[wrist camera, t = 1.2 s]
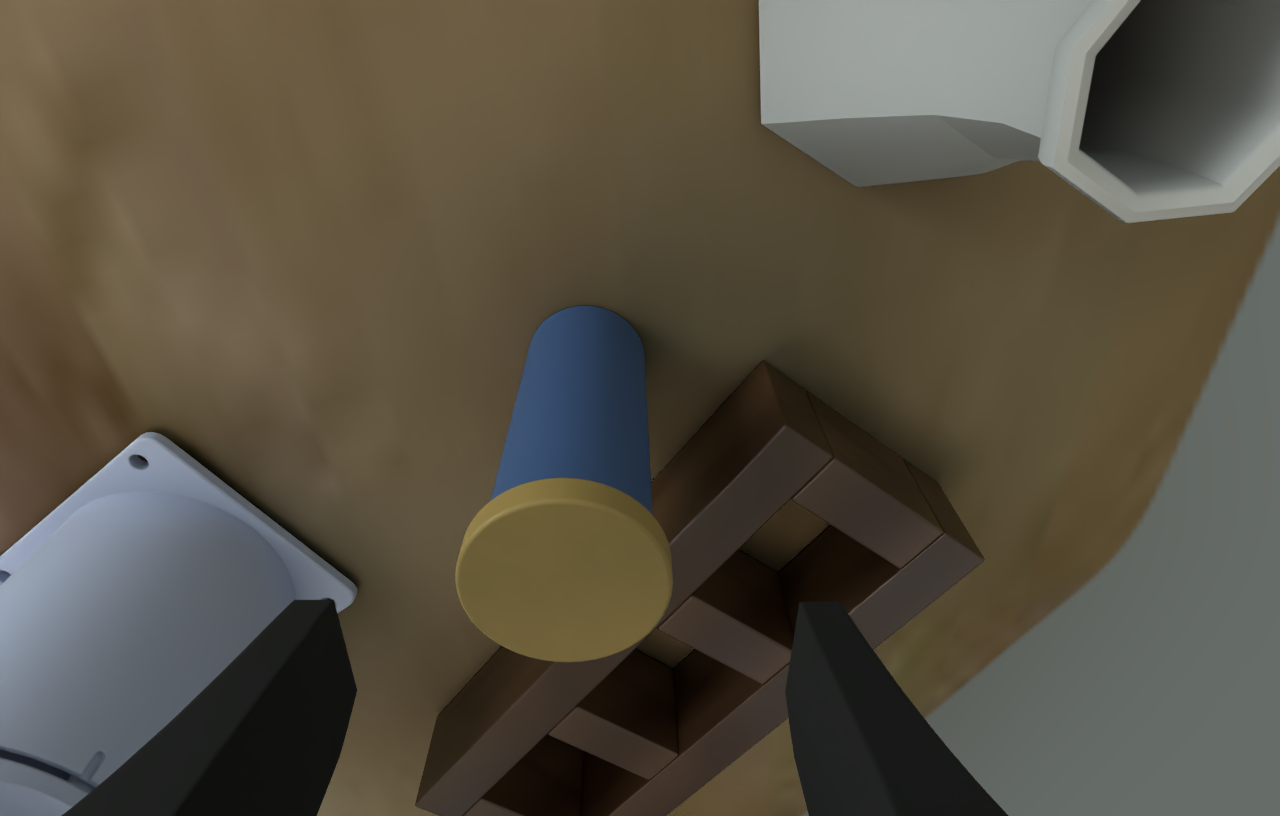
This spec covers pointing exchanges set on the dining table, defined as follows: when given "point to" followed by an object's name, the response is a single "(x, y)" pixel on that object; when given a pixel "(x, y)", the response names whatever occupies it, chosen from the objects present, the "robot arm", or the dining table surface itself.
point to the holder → (706, 620)
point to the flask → (1034, 93)
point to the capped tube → (571, 502)
